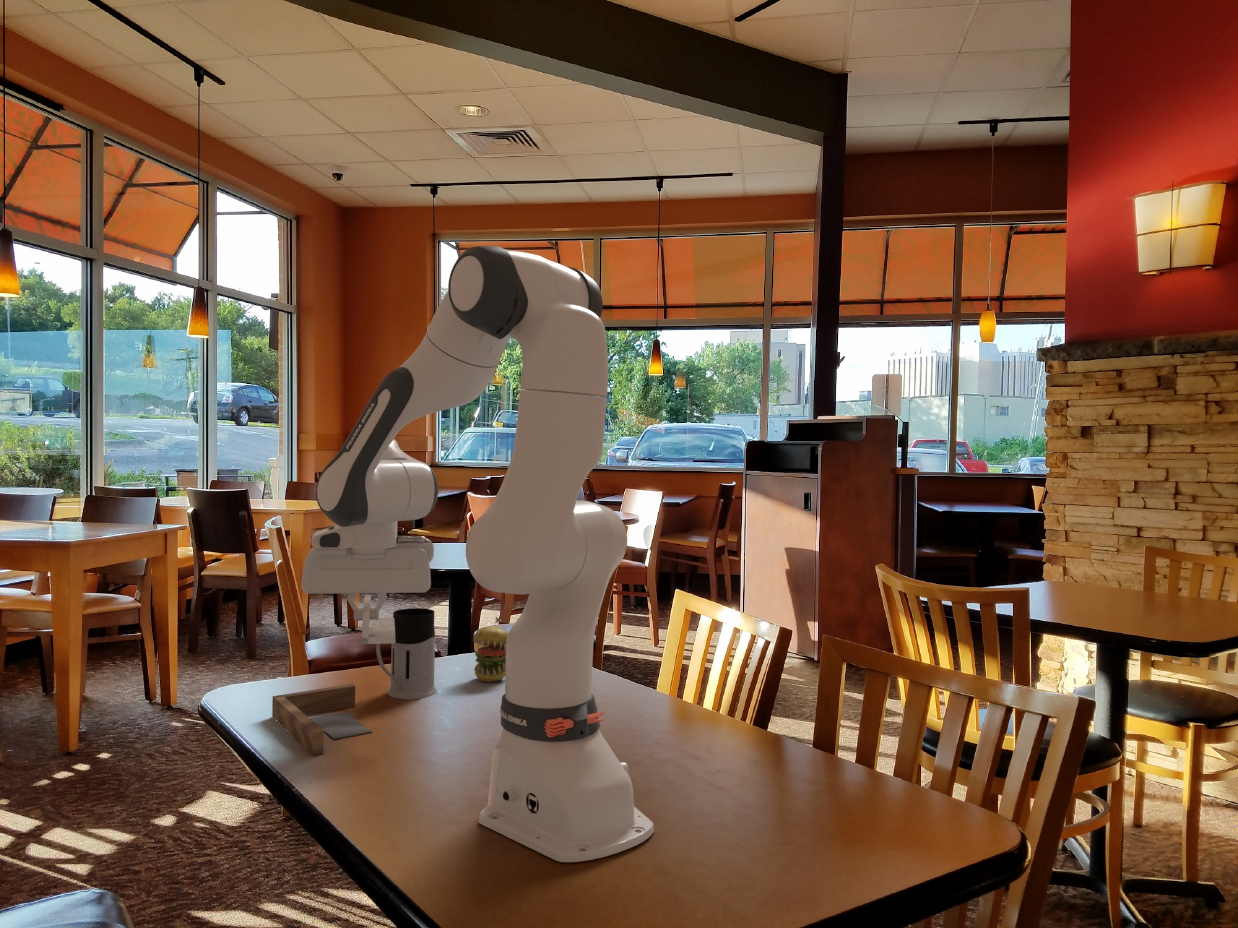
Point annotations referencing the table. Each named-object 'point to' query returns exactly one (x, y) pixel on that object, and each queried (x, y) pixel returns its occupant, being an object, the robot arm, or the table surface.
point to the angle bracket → (376, 627)
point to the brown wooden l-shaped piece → (311, 730)
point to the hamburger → (491, 653)
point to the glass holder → (412, 654)
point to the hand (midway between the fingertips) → (366, 619)
